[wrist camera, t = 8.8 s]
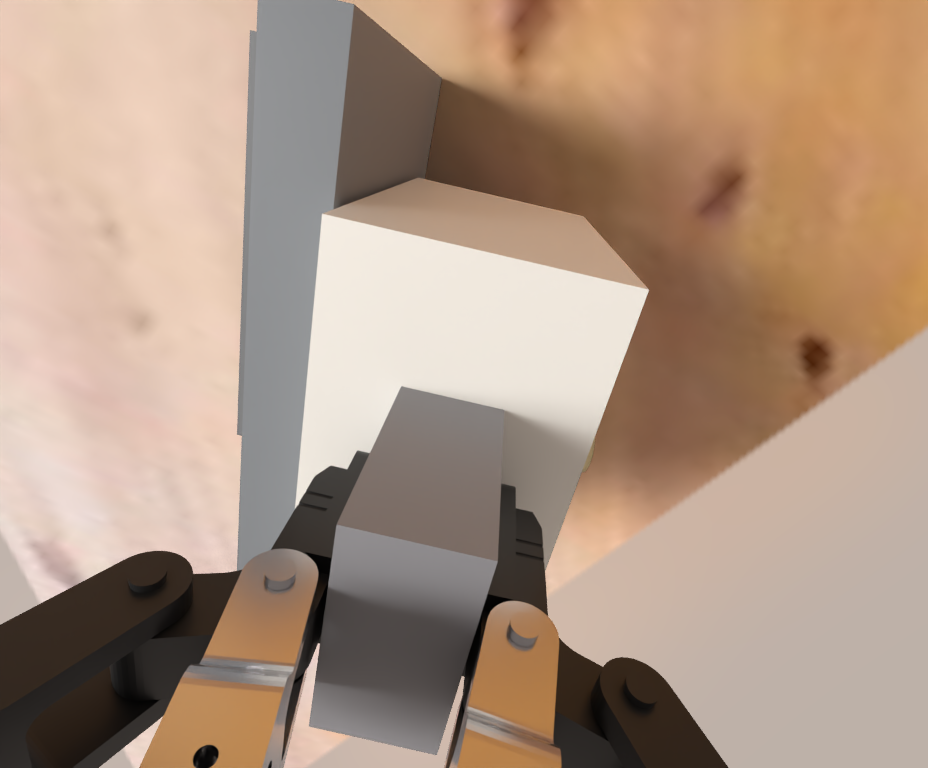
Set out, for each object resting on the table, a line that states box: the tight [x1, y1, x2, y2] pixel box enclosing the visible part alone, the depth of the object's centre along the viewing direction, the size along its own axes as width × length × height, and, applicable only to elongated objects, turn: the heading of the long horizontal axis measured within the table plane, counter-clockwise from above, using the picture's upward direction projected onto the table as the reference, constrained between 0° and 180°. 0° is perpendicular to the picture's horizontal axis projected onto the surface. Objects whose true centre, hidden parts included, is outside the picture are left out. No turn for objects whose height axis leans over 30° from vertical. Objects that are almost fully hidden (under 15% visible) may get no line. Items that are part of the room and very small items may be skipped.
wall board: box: [237, 0, 442, 571], centre depth 21 cm, size 12×20×14 cm, turn 168°
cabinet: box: [295, 178, 649, 755], centre depth 17 cm, size 8×12×17 cm, turn 168°
